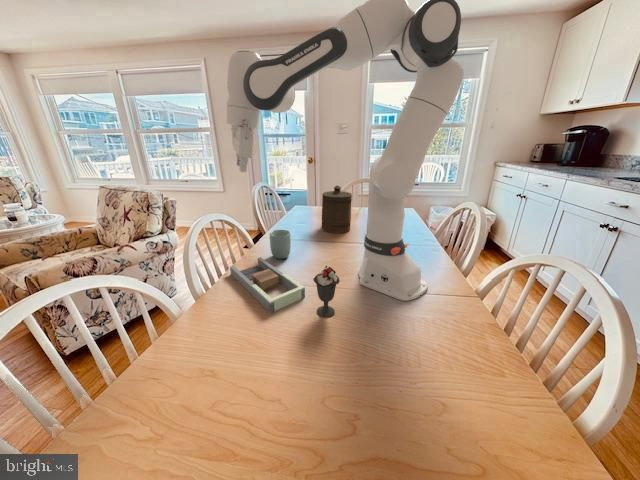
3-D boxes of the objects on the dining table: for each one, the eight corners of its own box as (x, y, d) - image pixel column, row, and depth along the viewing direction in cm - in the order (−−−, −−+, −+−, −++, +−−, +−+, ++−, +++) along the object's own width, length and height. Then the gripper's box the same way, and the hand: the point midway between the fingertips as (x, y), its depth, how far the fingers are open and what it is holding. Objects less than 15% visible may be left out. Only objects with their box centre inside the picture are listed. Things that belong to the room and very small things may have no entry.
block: (279, 287, 80) (278, 276, 79) (261, 293, 77) (260, 282, 75) (269, 279, 85) (269, 268, 83) (253, 285, 81) (251, 274, 80)
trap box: (304, 297, 75) (304, 287, 74) (270, 313, 68) (269, 302, 67) (261, 264, 94) (260, 256, 93) (231, 274, 87) (229, 265, 86)
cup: (287, 262, 96) (286, 237, 92) (268, 260, 98) (266, 235, 94) (293, 253, 103) (292, 230, 100) (275, 251, 105) (273, 228, 101)
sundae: (320, 323, 65) (321, 270, 59) (309, 308, 70) (308, 259, 65) (342, 315, 67) (345, 265, 62) (330, 301, 73) (331, 254, 67)
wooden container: (352, 225, 137) (354, 184, 129) (347, 234, 124) (349, 189, 116) (325, 223, 141) (326, 182, 132) (318, 231, 127) (318, 187, 119)
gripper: (260, 122, 65) (256, 176, 71) (249, 120, 83) (247, 164, 88) (234, 118, 63) (232, 174, 68) (229, 117, 80) (228, 162, 85)
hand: (241, 168), depth 78 cm, fingers open, 8 cm apart
